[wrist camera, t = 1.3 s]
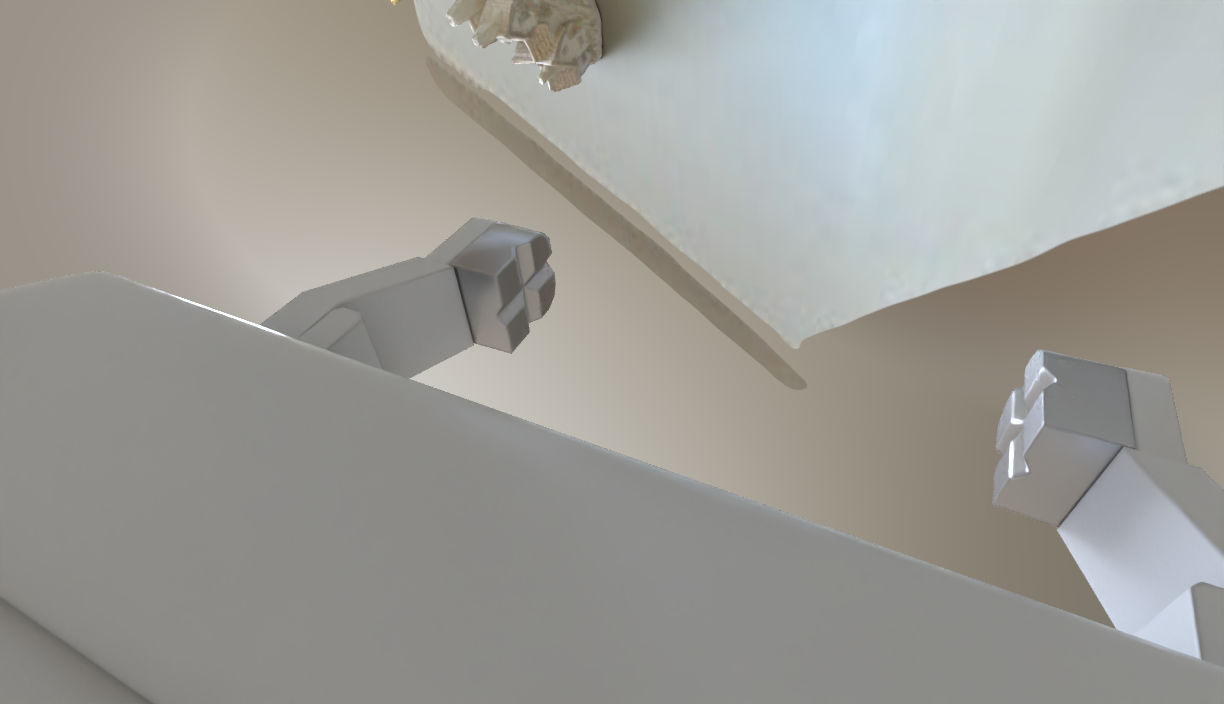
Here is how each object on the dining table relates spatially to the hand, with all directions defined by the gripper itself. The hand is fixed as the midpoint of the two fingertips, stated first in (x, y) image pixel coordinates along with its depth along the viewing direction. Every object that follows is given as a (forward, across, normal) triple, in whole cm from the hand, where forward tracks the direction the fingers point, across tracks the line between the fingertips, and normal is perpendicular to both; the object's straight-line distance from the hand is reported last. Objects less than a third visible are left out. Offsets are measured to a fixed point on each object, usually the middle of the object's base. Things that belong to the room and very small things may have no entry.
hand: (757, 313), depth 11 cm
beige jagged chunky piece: (+67, +44, +15) cm, 81 cm away
